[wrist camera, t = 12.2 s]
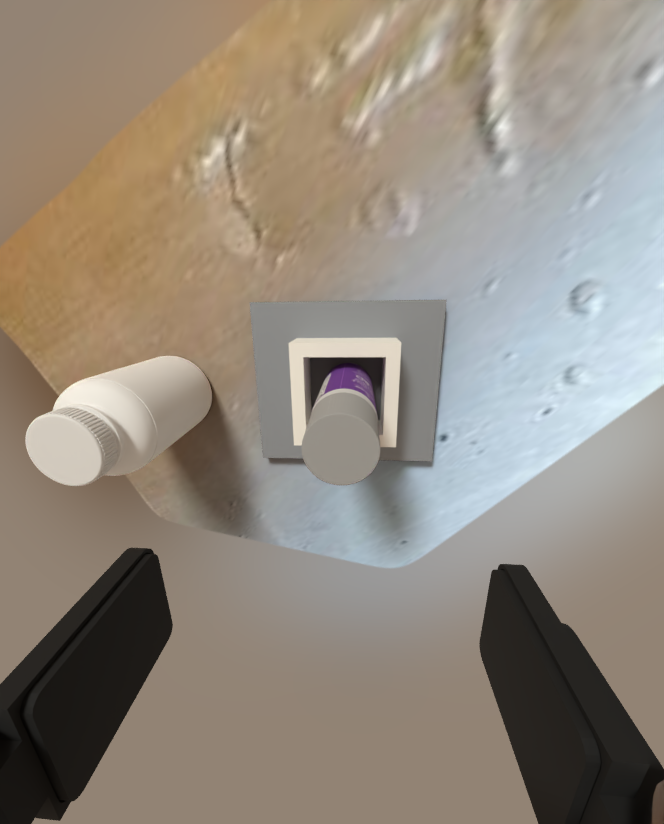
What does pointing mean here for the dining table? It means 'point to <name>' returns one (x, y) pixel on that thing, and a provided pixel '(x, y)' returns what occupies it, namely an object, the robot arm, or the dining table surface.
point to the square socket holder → (358, 343)
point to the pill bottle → (118, 420)
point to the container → (343, 428)
